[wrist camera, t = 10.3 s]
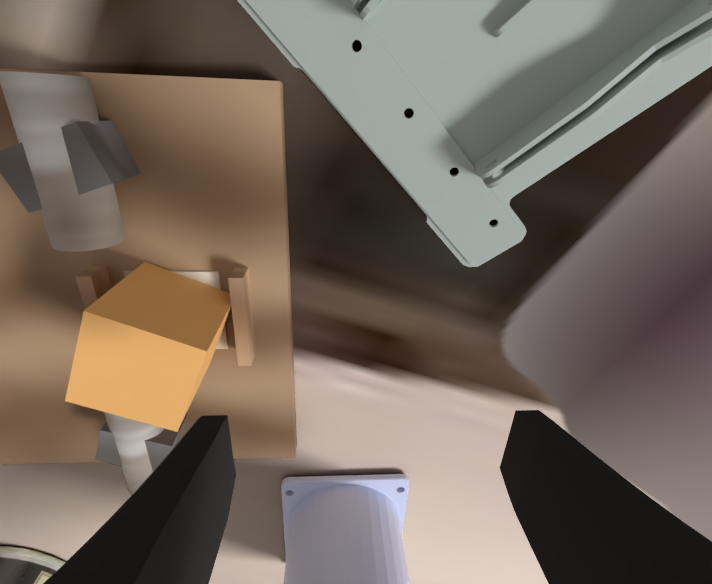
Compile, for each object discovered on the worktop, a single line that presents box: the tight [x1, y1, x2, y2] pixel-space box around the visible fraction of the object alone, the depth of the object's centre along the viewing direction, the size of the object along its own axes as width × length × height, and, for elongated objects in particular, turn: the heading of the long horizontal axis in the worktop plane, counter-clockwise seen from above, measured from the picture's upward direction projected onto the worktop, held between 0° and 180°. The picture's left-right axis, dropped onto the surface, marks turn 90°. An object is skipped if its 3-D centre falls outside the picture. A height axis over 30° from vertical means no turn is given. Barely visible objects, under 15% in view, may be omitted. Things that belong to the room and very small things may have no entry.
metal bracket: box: [238, 0, 712, 267], centre depth 14 cm, size 14×6×15 cm
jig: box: [0, 68, 297, 495], centre depth 17 cm, size 19×18×3 cm
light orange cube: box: [65, 262, 231, 432], centre depth 15 cm, size 4×4×4 cm
